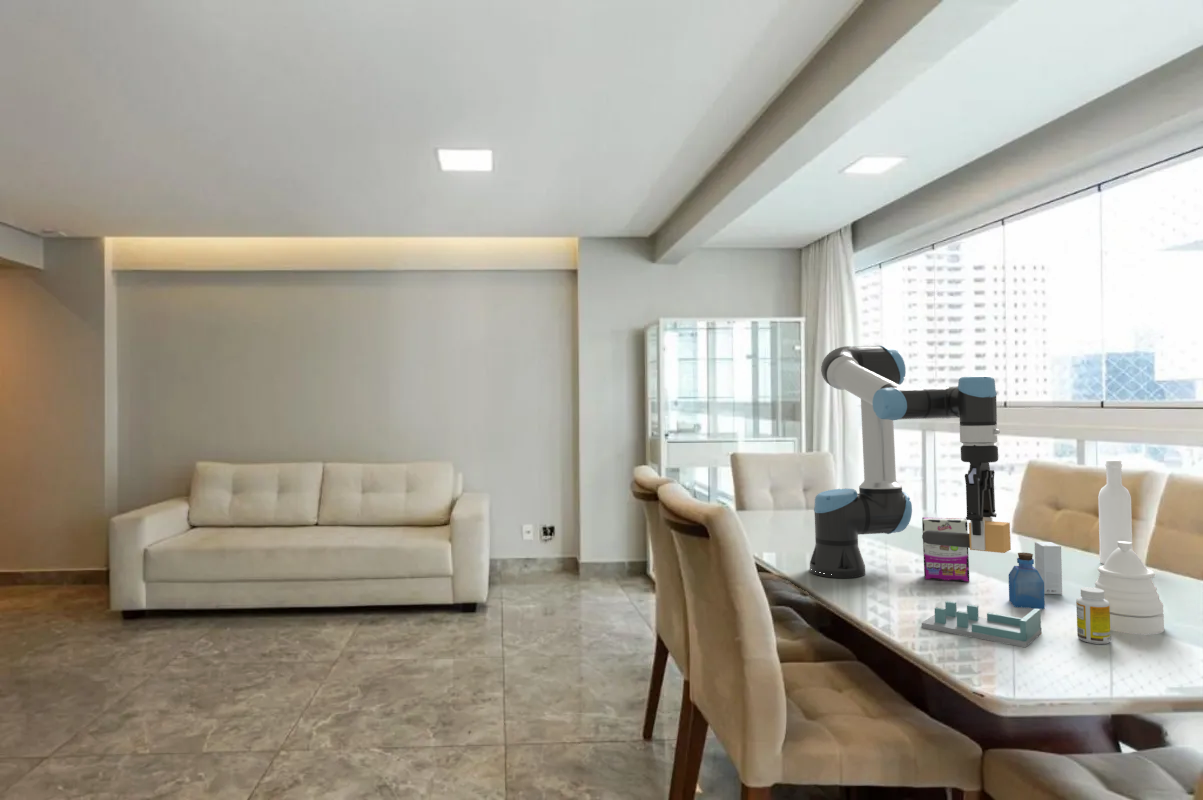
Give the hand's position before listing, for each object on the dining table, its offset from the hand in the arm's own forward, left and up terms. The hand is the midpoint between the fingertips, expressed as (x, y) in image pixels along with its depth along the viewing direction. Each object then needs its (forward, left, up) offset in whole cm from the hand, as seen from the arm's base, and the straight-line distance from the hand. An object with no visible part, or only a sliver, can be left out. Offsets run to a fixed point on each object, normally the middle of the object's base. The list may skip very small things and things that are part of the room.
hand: (982, 547), depth 165 cm
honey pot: (+25, +12, -16) cm, 31 cm away
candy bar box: (-18, +30, -16) cm, 39 cm away
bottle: (+13, +77, -16) cm, 80 cm away
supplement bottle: (+22, -4, -16) cm, 27 cm away
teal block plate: (+3, -11, -15) cm, 19 cm away
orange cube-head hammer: (-4, 0, 0) cm, 4 cm away
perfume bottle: (+5, +16, -16) cm, 23 cm away
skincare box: (+6, +32, -16) cm, 36 cm away
